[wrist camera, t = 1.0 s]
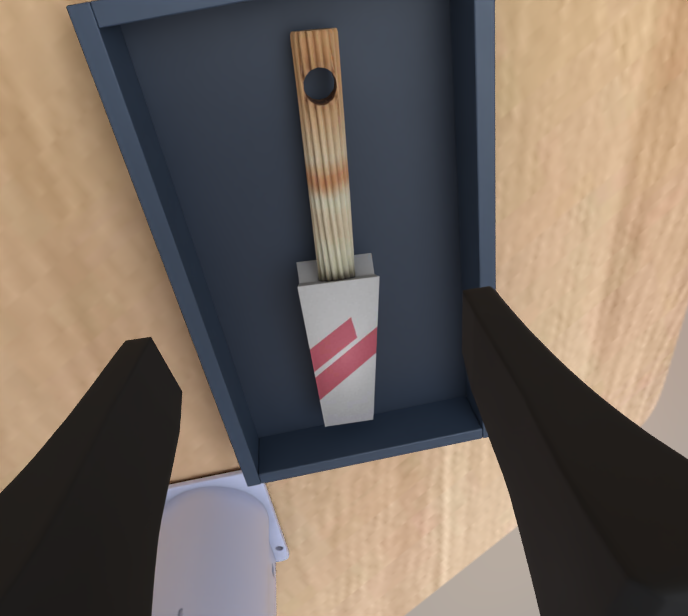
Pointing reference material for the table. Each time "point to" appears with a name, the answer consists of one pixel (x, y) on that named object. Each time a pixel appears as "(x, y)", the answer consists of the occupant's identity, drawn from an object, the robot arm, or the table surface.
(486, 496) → the table surface
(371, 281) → the churro in paper sleeve
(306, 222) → the dark blue tray
